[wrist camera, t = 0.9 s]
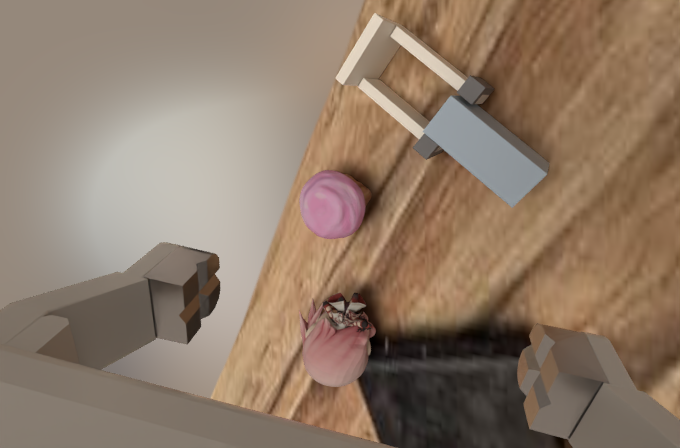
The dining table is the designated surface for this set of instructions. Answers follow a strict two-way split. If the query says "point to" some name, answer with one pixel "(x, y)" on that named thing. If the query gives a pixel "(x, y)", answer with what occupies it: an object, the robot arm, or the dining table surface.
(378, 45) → the frame
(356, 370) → the toy
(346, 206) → the cupcake
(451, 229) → the dining table surface
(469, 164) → the grey rectangular box
